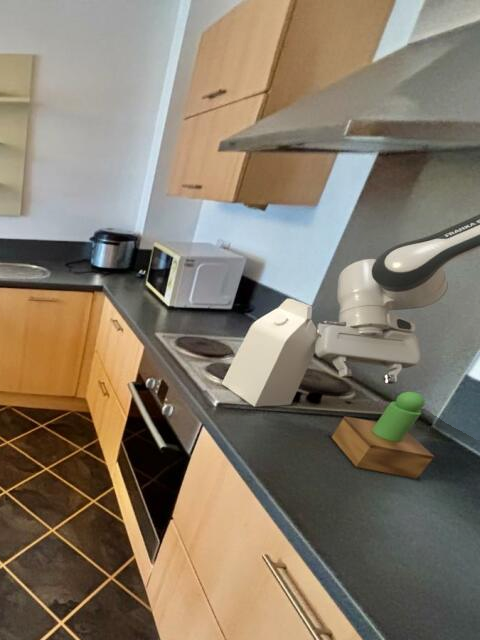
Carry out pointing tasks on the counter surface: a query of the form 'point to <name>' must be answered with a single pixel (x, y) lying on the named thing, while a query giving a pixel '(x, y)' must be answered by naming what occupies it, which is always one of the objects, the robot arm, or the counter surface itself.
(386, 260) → the robot arm
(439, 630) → the counter surface
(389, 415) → the toy
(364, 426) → the oak block
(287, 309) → the milk
